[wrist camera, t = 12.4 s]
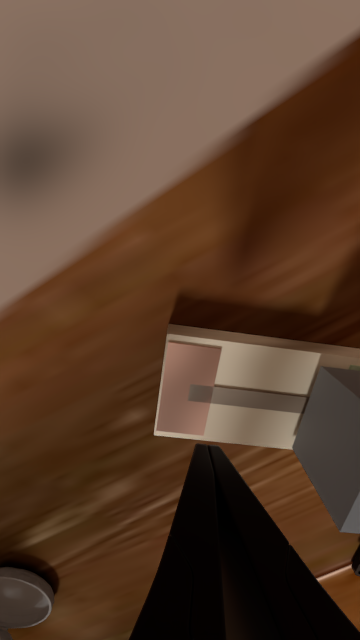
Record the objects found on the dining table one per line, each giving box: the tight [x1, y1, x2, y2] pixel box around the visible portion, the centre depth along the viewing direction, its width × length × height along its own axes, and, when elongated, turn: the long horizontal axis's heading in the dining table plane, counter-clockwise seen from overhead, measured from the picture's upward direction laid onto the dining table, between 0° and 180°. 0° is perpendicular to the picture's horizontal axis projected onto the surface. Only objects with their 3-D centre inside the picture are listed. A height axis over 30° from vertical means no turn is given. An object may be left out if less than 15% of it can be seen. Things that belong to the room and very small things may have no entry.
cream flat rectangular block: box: [154, 324, 360, 450], centre depth 13 cm, size 12×6×2 cm, turn 82°
